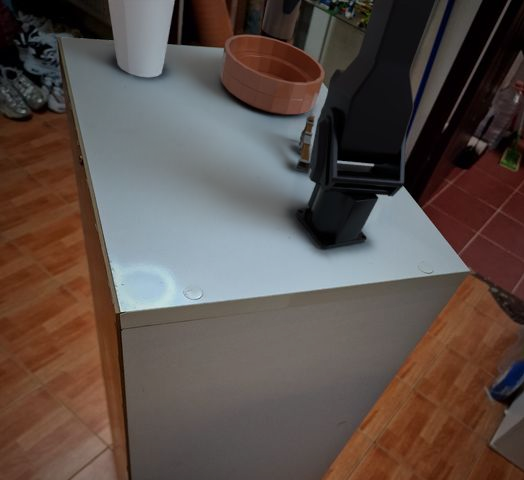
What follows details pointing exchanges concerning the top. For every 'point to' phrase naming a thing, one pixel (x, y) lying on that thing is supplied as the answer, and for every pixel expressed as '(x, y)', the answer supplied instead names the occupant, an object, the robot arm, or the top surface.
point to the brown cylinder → (279, 20)
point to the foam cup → (141, 34)
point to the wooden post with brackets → (305, 144)
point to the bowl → (271, 74)
